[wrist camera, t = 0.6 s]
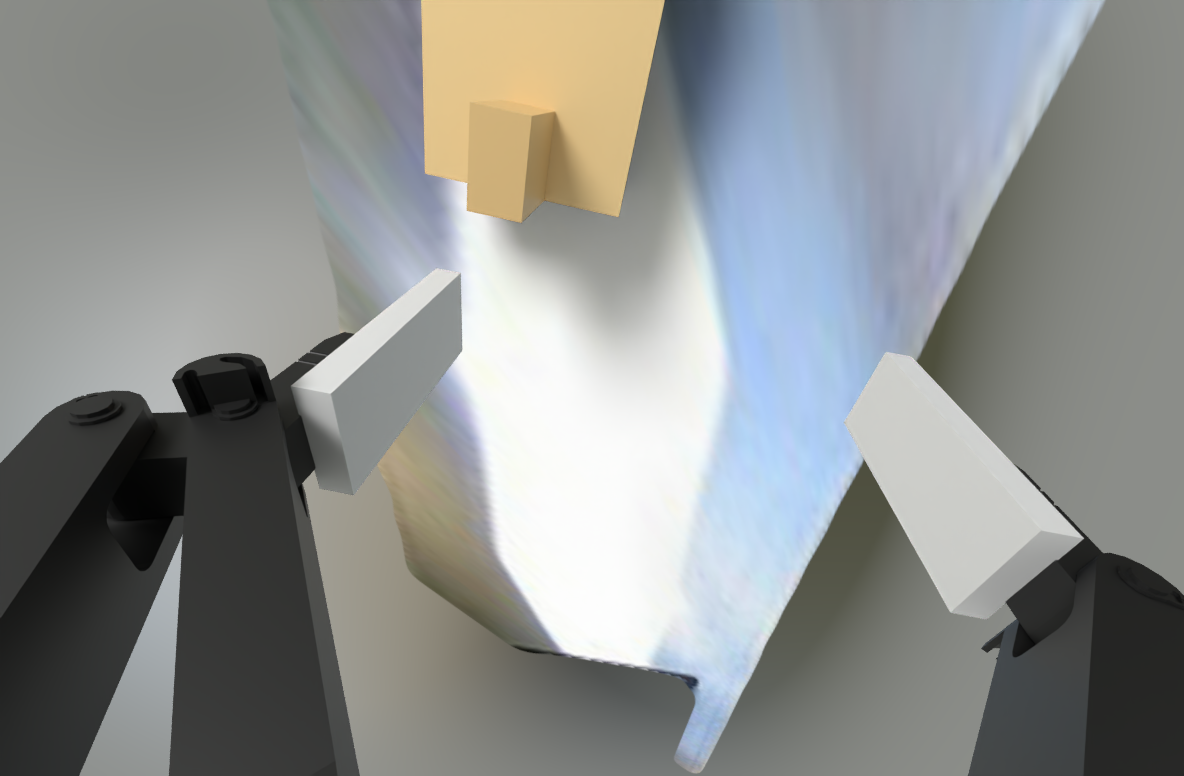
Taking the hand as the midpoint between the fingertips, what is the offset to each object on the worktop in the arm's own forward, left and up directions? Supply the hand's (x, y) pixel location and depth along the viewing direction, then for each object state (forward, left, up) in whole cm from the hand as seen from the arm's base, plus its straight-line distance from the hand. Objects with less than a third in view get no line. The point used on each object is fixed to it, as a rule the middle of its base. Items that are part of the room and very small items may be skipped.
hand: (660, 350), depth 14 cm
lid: (-9, -9, -19) cm, 23 cm away
